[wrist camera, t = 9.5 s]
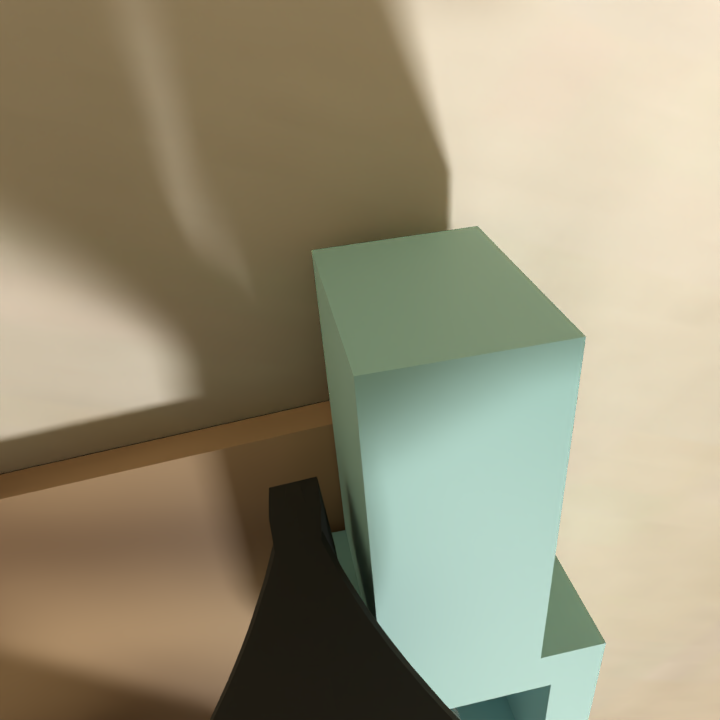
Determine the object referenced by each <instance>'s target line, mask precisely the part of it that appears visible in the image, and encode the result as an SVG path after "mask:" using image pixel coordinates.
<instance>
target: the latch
mask: <svg viewBox="0 0 720 720" xmlns="http://www.w3.org/2000/svg"><path fill="white" fill-rule="evenodd" d="M311 251H312V259H313V267H314V276H315V284H316V292H317V300H318V308H319V317H320V325H321V333H322V341H323V349H324V358H325V366H326V374H327V382H328V390H329V399H330V407H331V415H332V423H333V431H334V439H335V448H336V456H337V464H338V472H339V480H340V489H341V497H342V505H343V513H344V521H345V530H343V531H338V532H333V533H332V536H333V540H334V544H335V548H336V553H337V558H338V561H339V563H340V565H341V566H342V568H343V570H344V572H345V573H346V575H347V577H348V578H349V580H350V582H351V583H352V585H353V586H354V588H355V589H356V591H357V592H358V594H359V596H360V597H361V599H362V600H363V602H364V603H365V605H366V606H367V608H368V609H369V611H370V612H371V613H372V615H373V616H374V618H375V619H376V620H377V622H378V623H379V625H380V626H381V627H382V629H383V630H384V631H385V633H386V634H387V635H388V637H389V638H390V639H391V641H392V642H393V643H394V645H395V646H396V647H397V648H398V650H399V651H400V652H401V653H402V655H403V656H404V657H405V658H406V660H407V661H408V662H409V663H410V665H411V666H412V667H413V668H414V669H415V670H416V672H417V673H418V674H419V675H420V676H421V677H422V678H423V679H424V681H425V682H426V683H427V684H428V685H429V686H430V687H431V689H432V690H433V691H434V692H435V693H436V694H437V695H438V697H439V698H440V699H441V700H442V701H443V702H444V703H445V705H446V706H447V707H448V708H449V709H452V708H456V707H457V709H458V712H459V715H460V719H461V720H588V718H589V714H590V710H591V705H592V701H593V697H594V692H595V688H596V684H597V679H598V675H599V670H600V666H601V662H602V657H603V653H604V649H605V644H606V643H605V641H604V639H603V637H602V636H601V634H600V632H599V630H598V629H597V627H596V625H595V623H594V622H593V620H592V618H591V616H590V615H589V613H588V611H587V609H586V608H585V606H584V604H583V602H582V601H581V599H580V597H579V595H578V594H577V592H576V590H575V588H574V587H573V585H572V583H571V581H570V580H569V578H568V576H567V574H566V573H565V571H564V569H563V567H562V566H561V564H560V562H559V560H558V559H557V557H556V555H555V553H556V546H557V539H558V531H559V524H560V517H561V510H562V503H563V496H564V489H565V481H566V474H567V467H568V460H569V453H570V446H571V439H572V431H573V424H574V417H575V410H576V403H577V396H578V388H579V381H580V374H581V367H582V360H583V353H584V346H585V338H586V337H585V335H584V334H583V333H582V332H581V331H580V330H579V329H578V328H577V327H576V326H575V325H574V324H573V323H572V322H571V321H570V320H569V319H568V318H567V317H566V316H565V315H564V314H563V313H562V312H561V311H560V310H559V309H558V308H557V307H556V306H555V305H554V304H553V303H552V302H551V301H550V300H549V299H548V298H547V297H546V296H545V295H544V294H543V293H542V292H541V291H540V290H539V289H538V288H537V286H536V285H535V284H534V283H533V282H532V281H531V280H530V279H529V278H528V277H527V276H526V275H525V274H524V273H523V272H522V271H521V270H520V269H519V268H518V267H517V266H516V265H515V264H514V263H513V262H512V261H511V260H510V259H509V258H508V257H507V256H506V255H505V254H504V253H503V252H502V251H501V250H500V249H499V248H498V247H497V246H496V245H495V244H494V243H493V242H492V241H491V240H490V239H489V237H488V236H487V235H486V234H485V233H484V232H483V231H482V230H481V229H480V228H479V227H478V226H475V227H468V228H461V229H454V230H447V231H440V232H433V233H427V234H420V235H413V236H406V237H399V238H392V239H385V240H378V241H371V242H364V243H357V244H351V245H344V246H337V247H330V248H323V249H316V250H311Z"/></svg>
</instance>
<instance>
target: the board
mask: <svg viewBox="0 0 720 720" xmlns="http://www.w3.org/2000/svg"><path fill="white" fill-rule="evenodd" d="M312 477H317V479H318V482H319V486H320V490H321V494H322V498H323V502H324V505H325V509H326V513H327V517H328V521H329V525H330V528H331V532H332V533H333V532H338V531H343V530H345V521H344V513H343V505H342V497H341V489H340V480H339V472H338V464H337V456H336V448H335V439H334V431H333V423H332V415H331V407H330V401H326V402H321V403H317V404H312V405H308V406H304V407H299V408H295V409H290V410H286V411H281V412H277V413H272V414H268V415H264V416H259V417H255V418H250V419H246V420H241V421H237V422H232V423H228V424H224V425H219V426H215V427H210V428H206V429H201V430H197V431H192V432H188V433H183V434H179V435H175V436H170V437H166V438H161V439H157V440H152V441H148V442H143V443H139V444H135V445H130V446H126V447H121V448H117V449H112V450H108V451H103V452H99V453H94V454H90V455H86V456H81V457H77V458H72V459H68V460H63V461H59V462H54V463H50V464H46V465H41V466H37V467H32V468H28V469H23V470H19V471H14V472H10V473H6V474H1V475H0V720H210V718H211V716H212V714H213V712H214V709H215V707H216V705H217V703H218V701H219V699H220V696H221V694H222V692H223V690H224V688H225V686H226V683H227V681H228V679H229V676H230V674H231V672H232V669H233V667H234V664H235V662H236V659H237V657H238V654H239V652H240V649H241V647H242V644H243V641H244V639H245V636H246V633H247V631H248V628H249V625H250V622H251V619H252V616H253V613H254V610H255V607H256V603H257V600H258V597H259V594H260V591H261V588H262V585H263V581H264V578H265V574H266V570H267V566H268V562H269V558H270V554H271V550H272V547H273V539H272V534H271V528H270V522H269V488H270V487H274V486H279V485H283V484H287V483H291V482H295V481H300V480H304V479H308V478H312Z"/></svg>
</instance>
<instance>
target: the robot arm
mask: <svg viewBox="0 0 720 720" xmlns="http://www.w3.org/2000/svg"><path fill="white" fill-rule="evenodd" d="M269 522H270V528H271V534H272V539H273V547H272V550H271V554H270V558H269V562H268V566H267V570H266V574H265V578H264V581H263V585H262V588H261V591H260V594H259V597H258V600H257V603H256V607H255V610H254V613H253V616H252V619H251V622H250V625H249V628H248V631H247V633H246V636H245V639H244V641H243V644H242V647H241V649H240V652H239V654H238V657H237V659H236V662H235V664H234V667H233V669H232V672H231V674H230V676H229V679H228V681H227V683H226V686H225V688H224V690H223V692H222V694H221V696H220V699H219V701H218V703H217V705H216V707H215V709H214V712H213V714H212V716H211V718H210V720H460V719H459V718H458V717H457V716H456V715H455V714H454V713H453V712H452V711H451V710H450V709H449V708H448V707H447V706H446V705H445V703H444V702H443V701H442V700H441V699H440V698H439V697H438V695H437V694H436V693H435V692H434V691H433V690H432V689H431V687H430V686H429V685H428V684H427V683H426V682H425V681H424V679H423V678H422V677H421V676H420V675H419V674H418V673H417V672H416V670H415V669H414V668H413V667H412V666H411V665H410V663H409V662H408V661H407V660H406V658H405V657H404V656H403V655H402V653H401V652H400V651H399V650H398V648H397V647H396V646H395V645H394V643H393V642H392V641H391V639H390V638H389V637H388V635H387V634H386V633H385V631H384V630H383V629H382V627H381V626H380V625H379V623H378V622H377V620H376V619H375V618H374V616H373V615H372V613H371V612H370V611H369V609H368V608H367V606H366V605H365V603H364V602H363V600H362V599H361V597H360V596H359V594H358V592H357V591H356V589H355V588H354V586H353V585H352V583H351V582H350V580H349V578H348V577H347V575H346V573H345V572H344V570H343V568H342V566H341V565H340V563H339V561H338V558H337V553H336V548H335V544H334V540H333V536H332V532H331V528H330V525H329V521H328V517H327V513H326V509H325V505H324V502H323V498H322V494H321V490H320V486H319V482H318V479H317V477H312V478H308V479H304V480H300V481H295V482H291V483H287V484H283V485H279V486H274V487H270V488H269Z"/></svg>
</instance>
